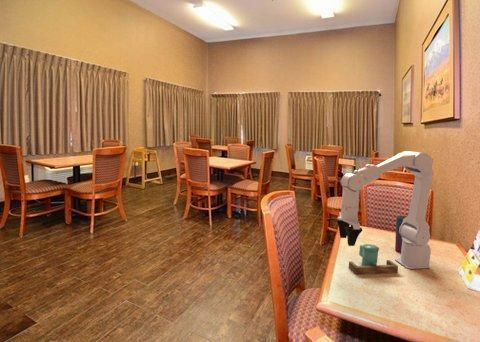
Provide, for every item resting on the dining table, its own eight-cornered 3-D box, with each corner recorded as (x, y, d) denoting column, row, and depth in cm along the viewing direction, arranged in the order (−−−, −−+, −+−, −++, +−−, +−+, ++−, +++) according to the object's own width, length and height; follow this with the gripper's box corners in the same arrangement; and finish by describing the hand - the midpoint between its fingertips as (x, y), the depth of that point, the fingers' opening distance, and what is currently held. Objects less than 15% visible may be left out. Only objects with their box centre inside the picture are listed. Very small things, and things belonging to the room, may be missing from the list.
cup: (413, 255, 123) (417, 220, 121) (395, 253, 125) (399, 219, 123) (407, 248, 130) (411, 216, 128) (390, 247, 131) (394, 214, 129)
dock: (388, 266, 113) (389, 260, 112) (397, 272, 108) (398, 266, 107) (348, 267, 110) (349, 261, 110) (355, 274, 106) (356, 267, 105)
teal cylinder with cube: (368, 260, 117) (369, 241, 116) (380, 270, 109) (382, 249, 108) (354, 261, 116) (356, 241, 115) (366, 270, 108) (368, 250, 107)
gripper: (332, 201, 115) (329, 234, 117) (346, 211, 101) (343, 249, 102) (350, 201, 115) (347, 234, 117) (367, 211, 101) (363, 249, 103)
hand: (347, 241), depth 110 cm, fingers open, 7 cm apart
